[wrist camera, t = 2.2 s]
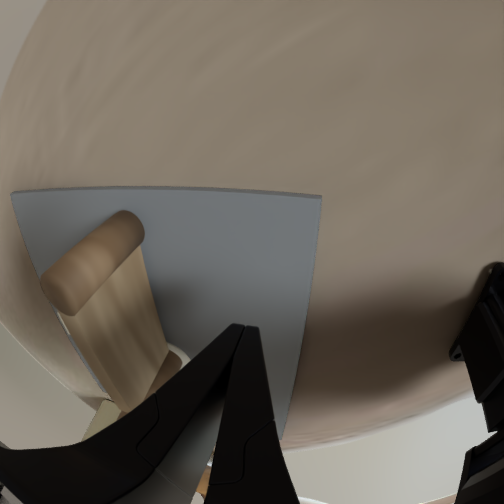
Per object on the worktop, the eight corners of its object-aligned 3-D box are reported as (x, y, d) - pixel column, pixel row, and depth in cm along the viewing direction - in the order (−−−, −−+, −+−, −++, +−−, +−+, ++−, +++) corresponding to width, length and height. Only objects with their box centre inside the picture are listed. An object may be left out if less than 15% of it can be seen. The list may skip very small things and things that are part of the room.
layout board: (321, 195, 10) (321, 200, 10) (281, 436, 21) (281, 441, 21) (14, 191, 13) (8, 194, 13) (104, 388, 25) (102, 392, 24)
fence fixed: (179, 350, 16) (142, 427, 12) (204, 424, 22) (185, 476, 18) (151, 343, 17) (111, 414, 12) (183, 419, 23) (163, 469, 18)
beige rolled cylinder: (141, 210, 11) (65, 277, 7) (175, 352, 16) (142, 418, 12) (108, 209, 12) (33, 269, 8) (148, 345, 16) (113, 407, 12)
